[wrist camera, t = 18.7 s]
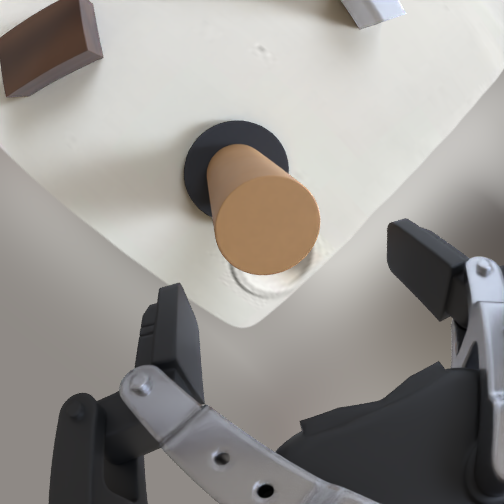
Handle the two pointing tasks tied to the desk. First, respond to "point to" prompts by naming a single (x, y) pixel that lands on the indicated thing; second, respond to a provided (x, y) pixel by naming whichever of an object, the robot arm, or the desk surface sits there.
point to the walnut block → (49, 46)
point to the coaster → (219, 139)
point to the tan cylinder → (259, 212)
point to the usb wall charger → (373, 11)
